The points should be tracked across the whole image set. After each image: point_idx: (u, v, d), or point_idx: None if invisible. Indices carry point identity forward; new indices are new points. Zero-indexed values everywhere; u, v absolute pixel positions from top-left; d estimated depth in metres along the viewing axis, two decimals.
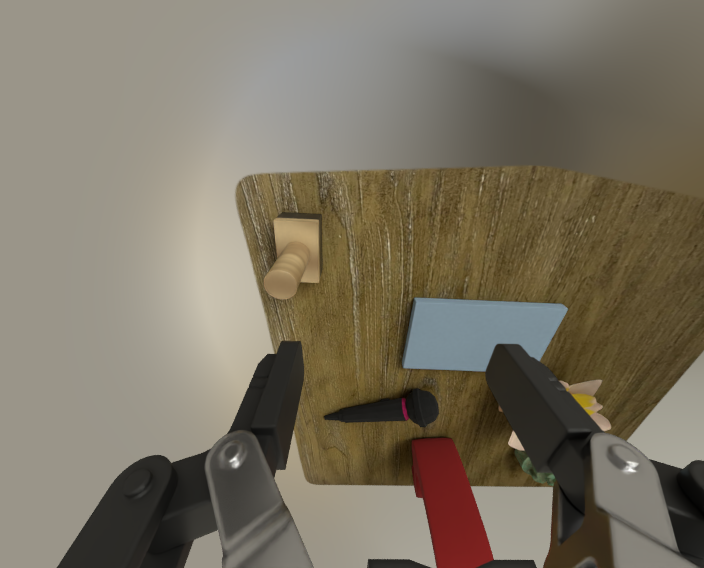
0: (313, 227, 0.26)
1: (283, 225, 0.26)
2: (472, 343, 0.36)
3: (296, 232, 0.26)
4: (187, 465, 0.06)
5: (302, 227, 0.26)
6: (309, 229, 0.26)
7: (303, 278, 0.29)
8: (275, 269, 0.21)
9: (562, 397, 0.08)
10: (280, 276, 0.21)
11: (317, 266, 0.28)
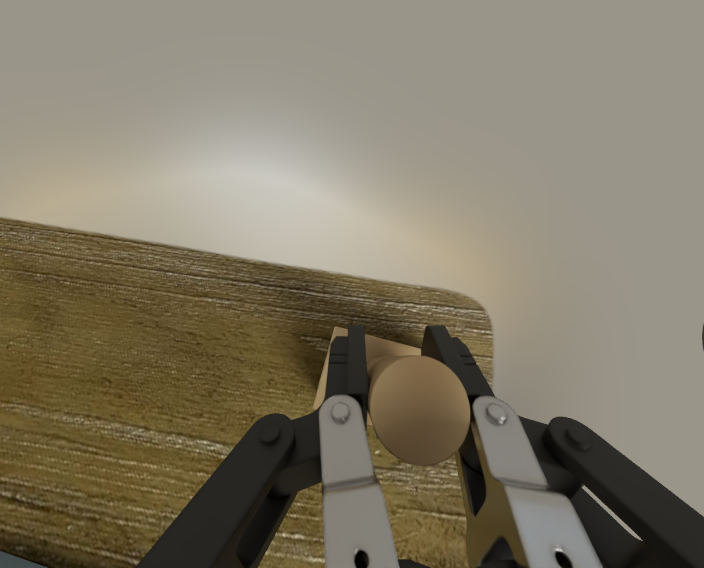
0: None
1: None
2: None
3: None
4: (298, 425, 0.07)
5: None
6: None
7: None
8: (467, 407, 0.07)
9: (465, 368, 0.09)
10: (449, 419, 0.07)
11: None
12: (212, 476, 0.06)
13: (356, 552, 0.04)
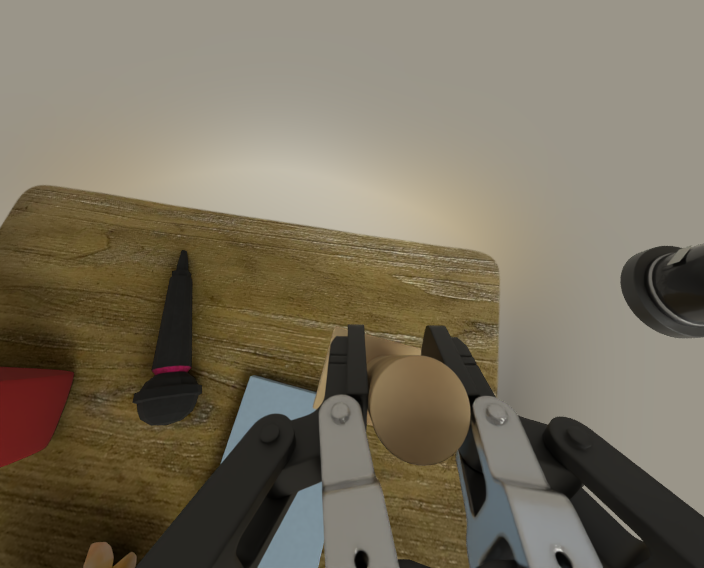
0: None
1: None
2: None
3: None
4: (298, 425, 0.07)
5: None
6: None
7: None
8: (467, 407, 0.07)
9: (465, 368, 0.09)
10: (449, 419, 0.07)
11: None
12: (212, 476, 0.06)
13: (356, 552, 0.04)
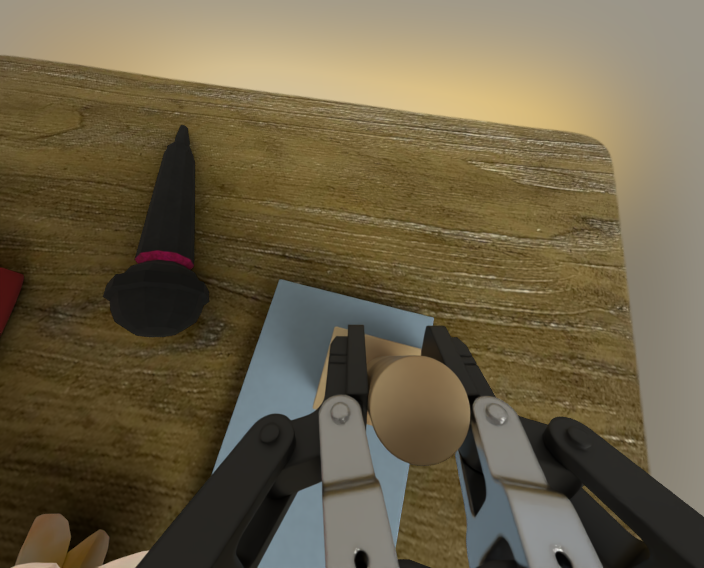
0: None
1: None
2: None
3: None
4: (298, 425, 0.07)
5: None
6: None
7: None
8: (467, 407, 0.07)
9: (465, 368, 0.09)
10: (449, 419, 0.07)
11: None
12: (212, 476, 0.06)
13: (356, 552, 0.04)
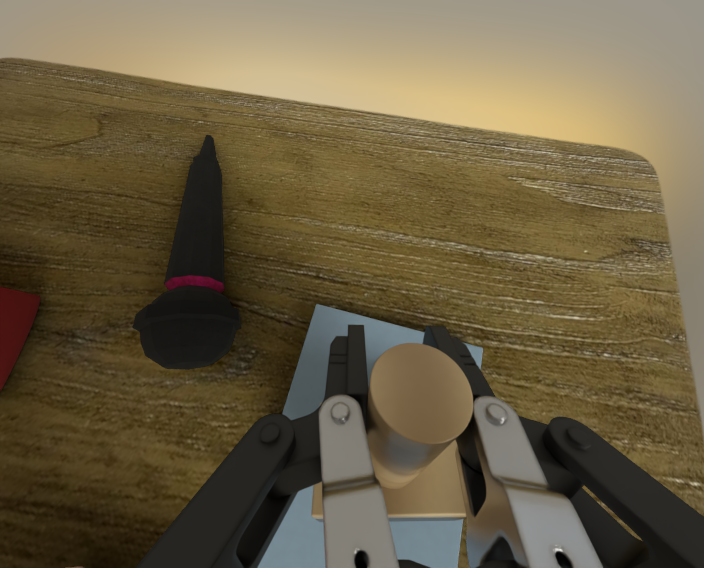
0: None
1: None
2: None
3: (440, 452, 0.12)
4: (298, 425, 0.07)
5: (456, 468, 0.11)
6: (457, 488, 0.11)
7: None
8: (463, 378, 0.07)
9: (465, 368, 0.09)
10: (451, 388, 0.07)
11: None
12: (212, 476, 0.06)
13: (356, 552, 0.04)
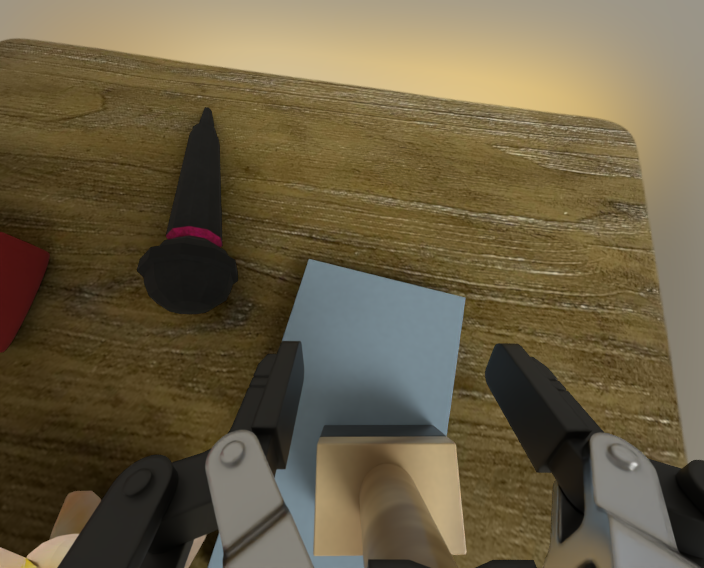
0: (454, 543, 0.12)
1: (449, 467, 0.12)
2: (347, 405, 0.16)
3: (437, 497, 0.12)
4: (188, 465, 0.06)
5: (450, 514, 0.12)
6: (448, 532, 0.12)
7: (325, 510, 0.12)
8: None
9: (561, 397, 0.08)
10: None
11: (359, 553, 0.11)
12: None
13: None
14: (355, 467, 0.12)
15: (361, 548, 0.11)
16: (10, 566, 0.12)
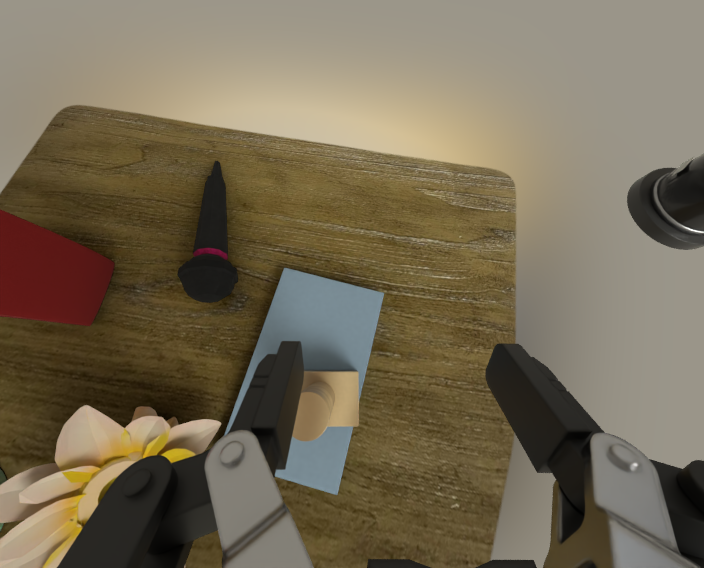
0: (352, 421, 0.22)
1: (353, 383, 0.23)
2: (305, 358, 0.27)
3: (345, 398, 0.22)
4: (187, 465, 0.06)
5: (352, 407, 0.22)
6: (349, 415, 0.22)
7: None
8: (329, 409, 0.16)
9: (562, 397, 0.08)
10: (320, 417, 0.16)
11: None
12: None
13: None
14: None
15: None
16: (116, 433, 0.22)
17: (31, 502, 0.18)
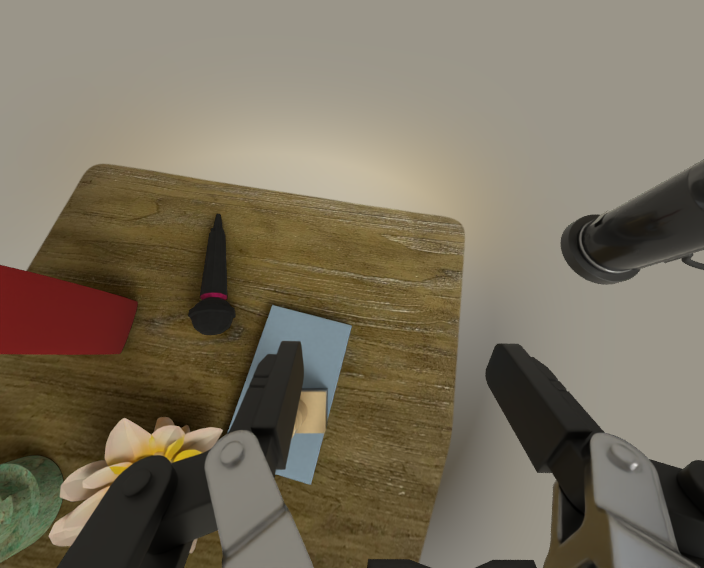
0: (320, 429, 0.29)
1: (321, 400, 0.30)
2: None
3: (315, 412, 0.30)
4: (187, 466, 0.06)
5: (320, 418, 0.30)
6: (318, 425, 0.29)
7: None
8: (295, 424, 0.23)
9: (562, 397, 0.08)
10: None
11: None
12: None
13: None
14: None
15: None
16: (145, 438, 0.29)
17: (89, 487, 0.26)
